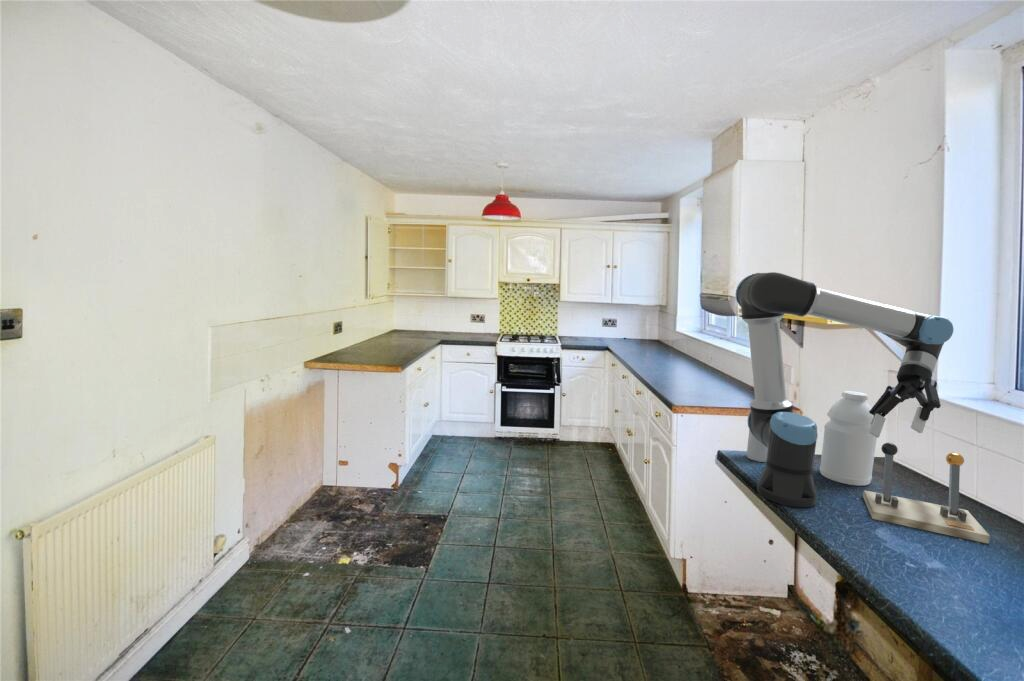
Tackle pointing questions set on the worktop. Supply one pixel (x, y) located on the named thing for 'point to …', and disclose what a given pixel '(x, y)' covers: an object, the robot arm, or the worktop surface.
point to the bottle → (849, 441)
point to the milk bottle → (756, 449)
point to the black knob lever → (888, 469)
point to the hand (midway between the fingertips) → (893, 432)
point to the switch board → (925, 516)
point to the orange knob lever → (954, 481)
